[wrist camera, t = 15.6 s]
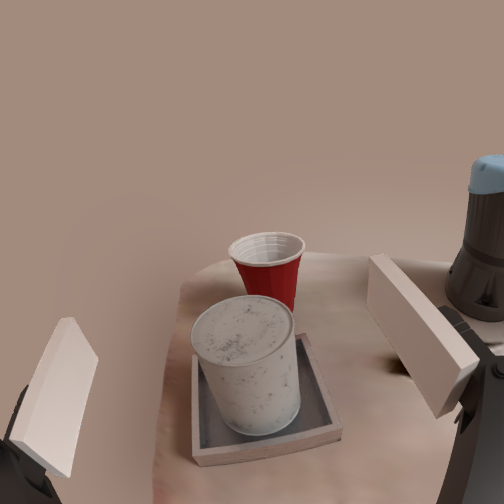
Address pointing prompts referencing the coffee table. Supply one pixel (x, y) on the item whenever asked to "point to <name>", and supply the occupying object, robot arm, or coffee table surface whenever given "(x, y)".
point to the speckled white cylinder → (250, 362)
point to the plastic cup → (269, 264)
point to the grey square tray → (276, 444)
